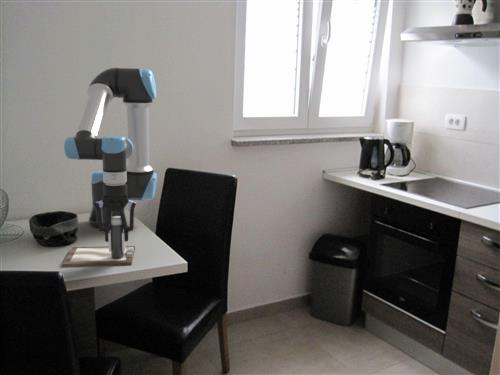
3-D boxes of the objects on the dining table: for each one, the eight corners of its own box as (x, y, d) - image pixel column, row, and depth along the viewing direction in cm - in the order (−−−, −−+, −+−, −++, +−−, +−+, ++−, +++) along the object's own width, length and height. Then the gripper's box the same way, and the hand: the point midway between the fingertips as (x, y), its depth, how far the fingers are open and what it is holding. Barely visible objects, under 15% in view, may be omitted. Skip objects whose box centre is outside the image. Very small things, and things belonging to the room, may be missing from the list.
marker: (111, 255, 164) (110, 216, 161) (123, 254, 165) (123, 215, 162) (111, 259, 160) (109, 219, 157) (123, 258, 162) (123, 219, 158)
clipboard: (72, 249, 171) (72, 243, 171) (135, 248, 175) (135, 242, 174) (62, 266, 156) (62, 260, 156) (131, 264, 159) (131, 258, 159)
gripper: (86, 185, 152) (89, 254, 157) (140, 185, 154) (141, 253, 160) (90, 180, 159) (93, 246, 164) (142, 180, 162) (143, 245, 167)
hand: (117, 250), depth 162 cm, fingers closed on marker, 4 cm apart
